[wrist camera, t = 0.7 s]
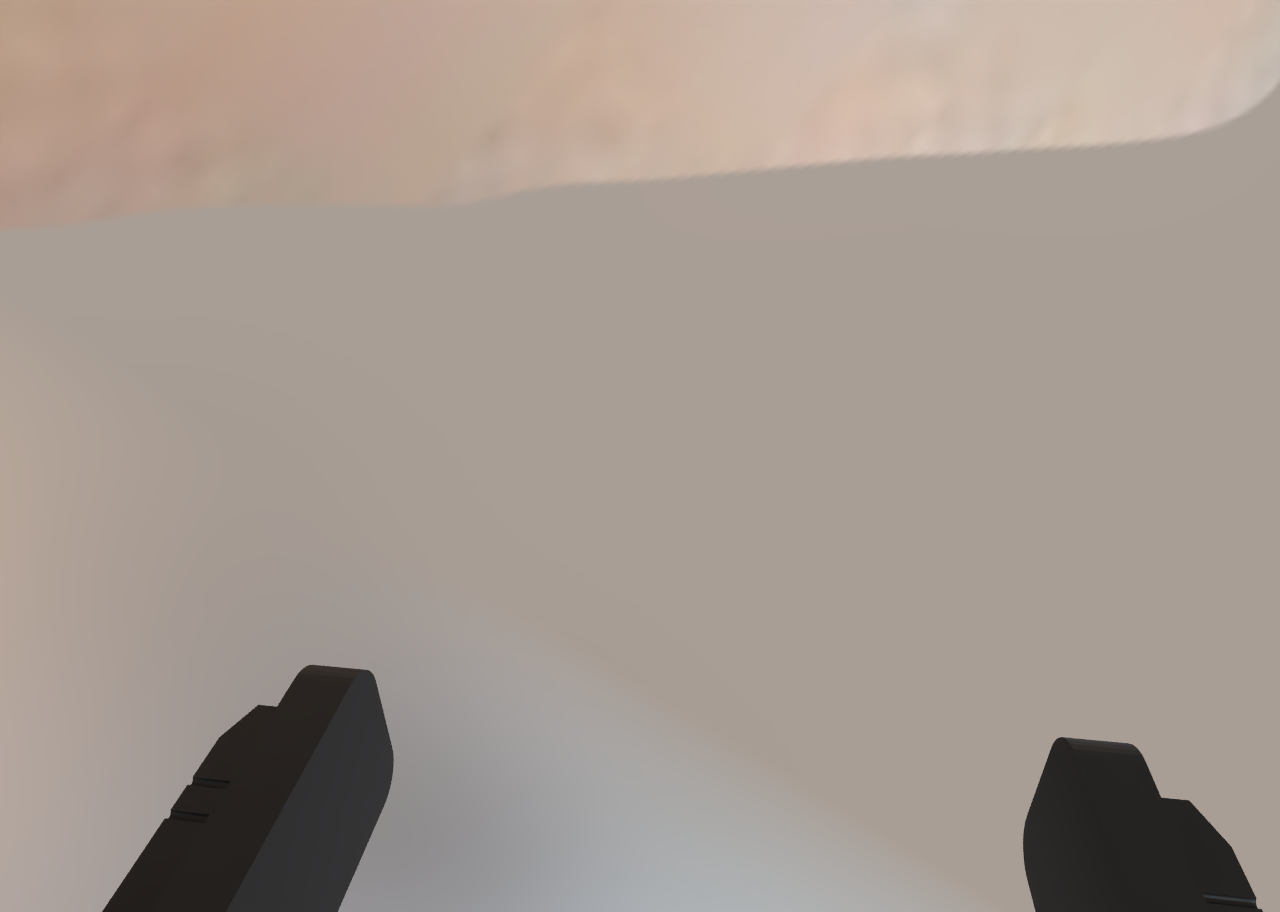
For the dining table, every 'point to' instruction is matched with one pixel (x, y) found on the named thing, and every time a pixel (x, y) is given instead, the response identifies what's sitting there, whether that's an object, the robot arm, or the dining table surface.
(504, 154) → the dining table surface
